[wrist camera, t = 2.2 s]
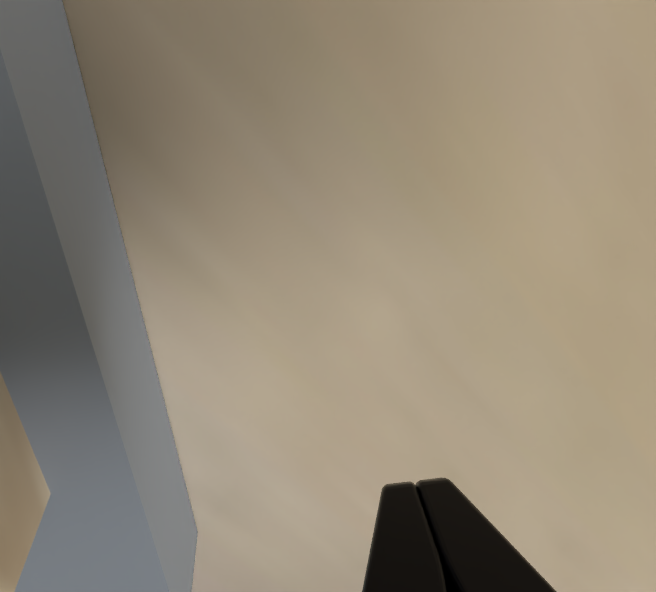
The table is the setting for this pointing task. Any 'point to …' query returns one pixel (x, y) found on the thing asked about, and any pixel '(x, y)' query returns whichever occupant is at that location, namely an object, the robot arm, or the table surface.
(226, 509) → the table surface
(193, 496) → the table surface
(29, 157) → the grey piece
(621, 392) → the table surface
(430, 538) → the robot arm
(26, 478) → the birch block
